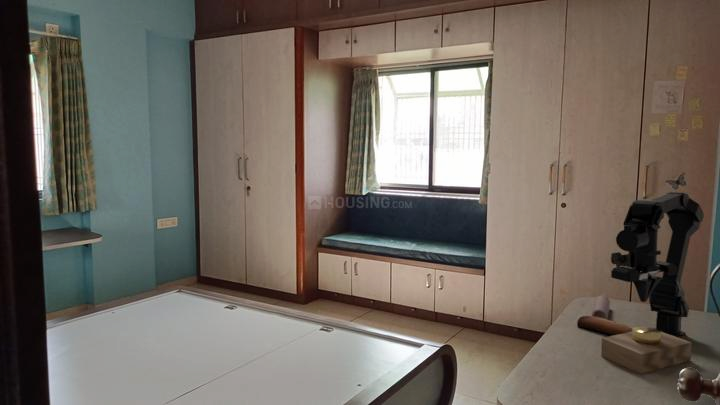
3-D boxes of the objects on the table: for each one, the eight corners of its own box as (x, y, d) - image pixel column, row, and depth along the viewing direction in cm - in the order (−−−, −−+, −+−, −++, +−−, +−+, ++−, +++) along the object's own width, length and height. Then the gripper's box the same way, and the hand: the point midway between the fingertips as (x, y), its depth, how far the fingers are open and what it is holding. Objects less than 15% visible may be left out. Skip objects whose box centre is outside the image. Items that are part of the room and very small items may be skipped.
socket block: (649, 344, 143) (649, 327, 142) (690, 360, 132) (691, 342, 131) (601, 355, 136) (601, 338, 136) (640, 373, 125) (641, 354, 125)
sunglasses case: (649, 336, 149) (644, 320, 146) (638, 353, 146) (633, 337, 143) (591, 320, 163) (585, 305, 161) (580, 335, 160) (574, 320, 158)
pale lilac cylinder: (608, 311, 159) (610, 296, 175) (592, 308, 162) (596, 293, 177) (606, 325, 160) (609, 309, 176) (590, 322, 162) (594, 306, 178)
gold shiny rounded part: (643, 349, 138) (644, 325, 138) (665, 359, 132) (666, 333, 131) (625, 354, 136) (626, 328, 135) (647, 363, 130) (648, 337, 129)
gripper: (643, 238, 150) (641, 290, 151) (595, 244, 143) (594, 298, 144) (679, 244, 139) (677, 300, 141) (629, 251, 133) (628, 309, 134)
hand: (643, 301), depth 140 cm, fingers closed
